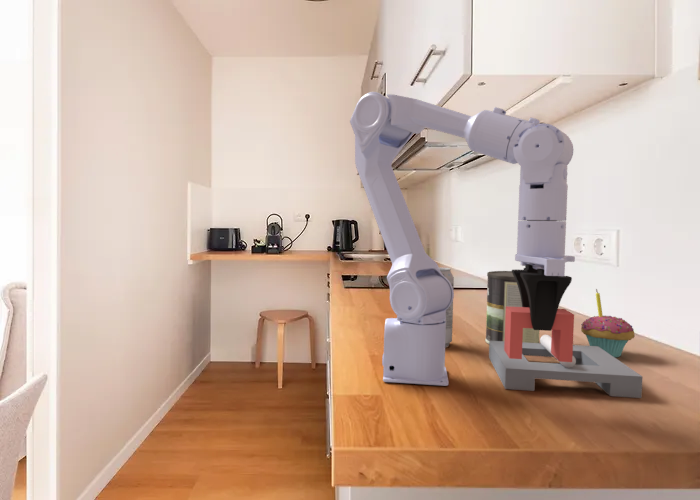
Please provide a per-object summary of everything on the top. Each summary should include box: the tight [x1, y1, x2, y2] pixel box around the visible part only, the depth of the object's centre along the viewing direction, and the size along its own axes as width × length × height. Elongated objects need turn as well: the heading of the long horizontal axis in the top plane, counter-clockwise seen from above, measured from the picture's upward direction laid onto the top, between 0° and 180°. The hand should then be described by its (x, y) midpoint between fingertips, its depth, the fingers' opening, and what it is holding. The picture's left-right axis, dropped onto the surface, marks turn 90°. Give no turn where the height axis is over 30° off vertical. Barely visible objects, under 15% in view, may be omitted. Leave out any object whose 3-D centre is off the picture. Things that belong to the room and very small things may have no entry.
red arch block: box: [504, 306, 575, 363], centre depth 59 cm, size 8×4×6 cm, turn 81°
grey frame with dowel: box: [488, 334, 643, 399], centre depth 72 cm, size 18×16×5 cm
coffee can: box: [484, 270, 540, 345], centre depth 91 cm, size 10×10×14 cm
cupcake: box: [580, 288, 635, 358], centre depth 84 cm, size 9×8×12 cm
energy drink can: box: [438, 266, 455, 348], centre depth 89 cm, size 6×6×15 cm
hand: (537, 325), depth 59 cm, fingers closed on red arch block, 4 cm apart
